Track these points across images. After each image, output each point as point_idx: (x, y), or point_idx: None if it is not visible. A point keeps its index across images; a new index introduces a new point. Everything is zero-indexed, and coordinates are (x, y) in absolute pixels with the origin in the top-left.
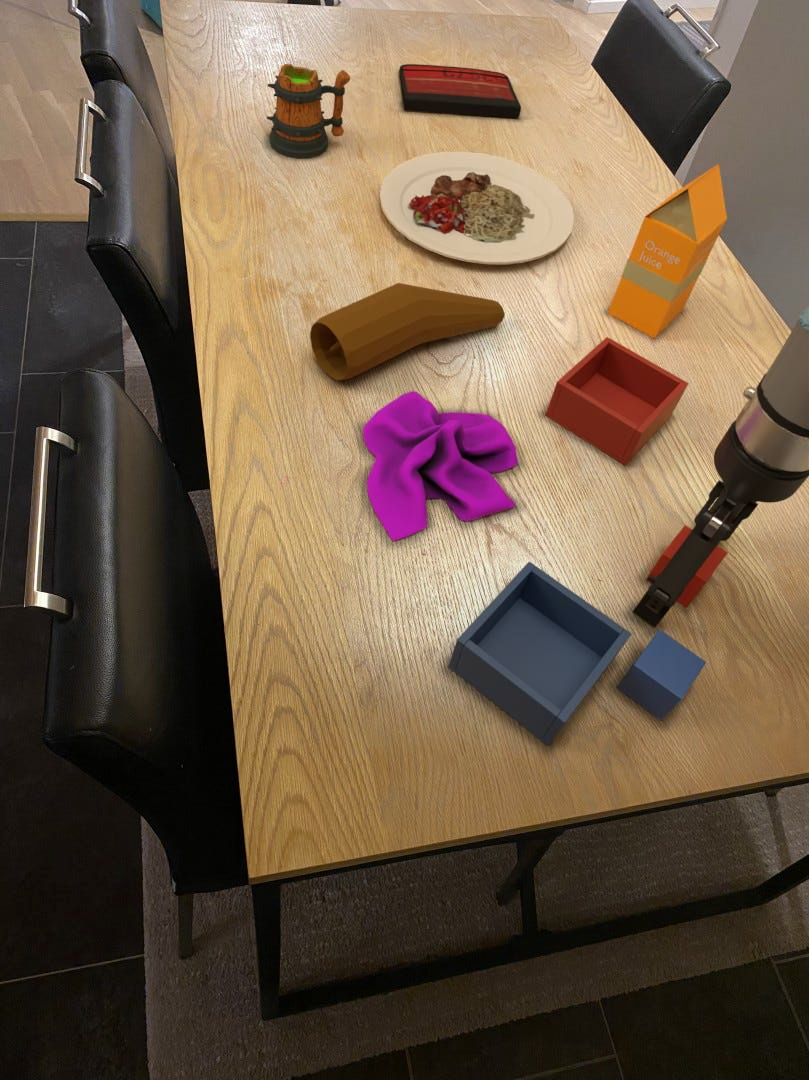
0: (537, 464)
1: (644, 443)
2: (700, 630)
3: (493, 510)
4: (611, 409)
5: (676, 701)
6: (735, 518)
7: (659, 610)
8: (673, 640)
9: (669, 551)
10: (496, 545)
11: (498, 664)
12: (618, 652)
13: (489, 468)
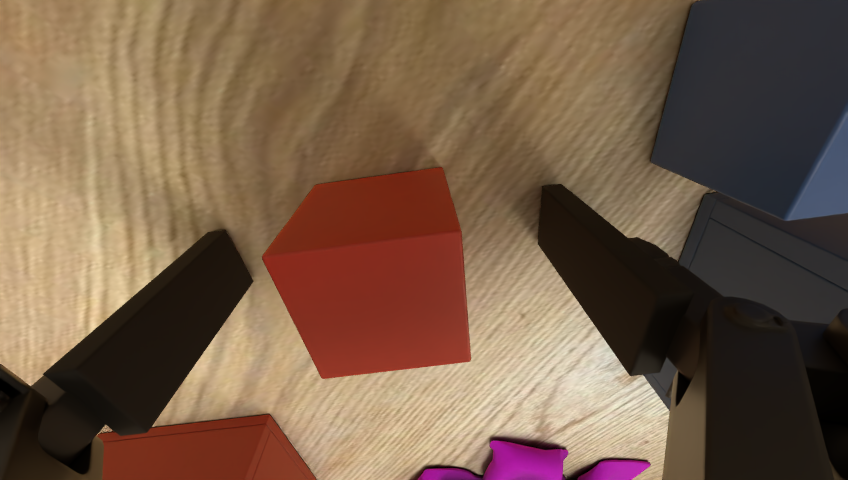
0: (401, 457)
1: (201, 433)
2: (475, 93)
3: (537, 456)
4: None
5: None
6: (118, 332)
7: (664, 254)
8: (830, 159)
9: (447, 356)
10: (573, 416)
11: None
12: (786, 221)
13: (466, 476)
